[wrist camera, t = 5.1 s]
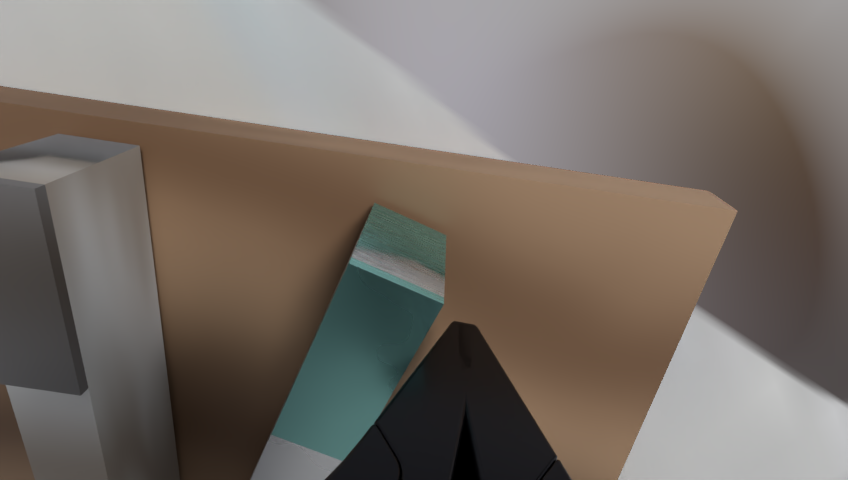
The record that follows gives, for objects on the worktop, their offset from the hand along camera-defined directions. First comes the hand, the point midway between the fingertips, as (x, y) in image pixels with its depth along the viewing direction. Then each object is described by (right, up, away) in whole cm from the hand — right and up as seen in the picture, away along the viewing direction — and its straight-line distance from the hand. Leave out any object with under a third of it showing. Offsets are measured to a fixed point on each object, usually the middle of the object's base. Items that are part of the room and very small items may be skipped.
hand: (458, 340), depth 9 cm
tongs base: (-4, -4, +5) cm, 8 cm away
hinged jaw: (-4, -3, +3) cm, 6 cm away
